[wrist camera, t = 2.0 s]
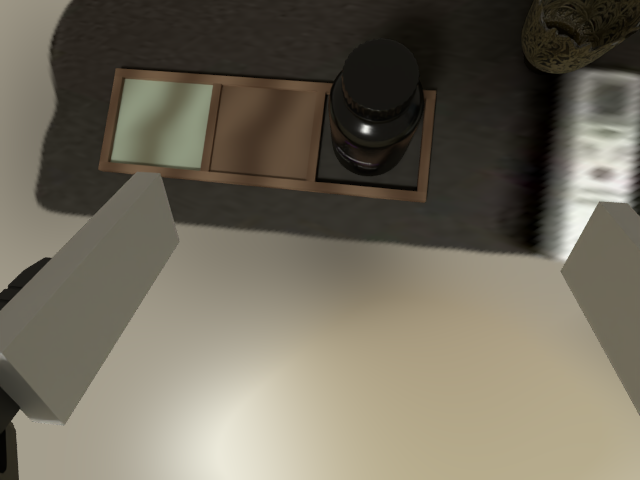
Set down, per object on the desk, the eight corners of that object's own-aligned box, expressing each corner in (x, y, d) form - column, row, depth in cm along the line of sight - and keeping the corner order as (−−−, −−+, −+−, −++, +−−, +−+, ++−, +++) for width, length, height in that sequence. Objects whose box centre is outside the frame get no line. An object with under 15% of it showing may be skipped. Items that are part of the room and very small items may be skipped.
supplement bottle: (337, 183, 35) (329, 134, 23) (328, 112, 36) (316, 30, 24) (412, 173, 35) (444, 117, 23) (402, 101, 36) (427, 12, 24)
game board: (434, 94, 35) (436, 90, 35) (424, 202, 34) (425, 201, 34) (119, 71, 38) (116, 68, 38) (102, 171, 37) (98, 169, 37)
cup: (486, 38, 35) (525, -31, 28) (563, 8, 35) (624, -71, 27) (519, 110, 35) (569, 59, 27) (598, 80, 34) (672, 20, 26)
